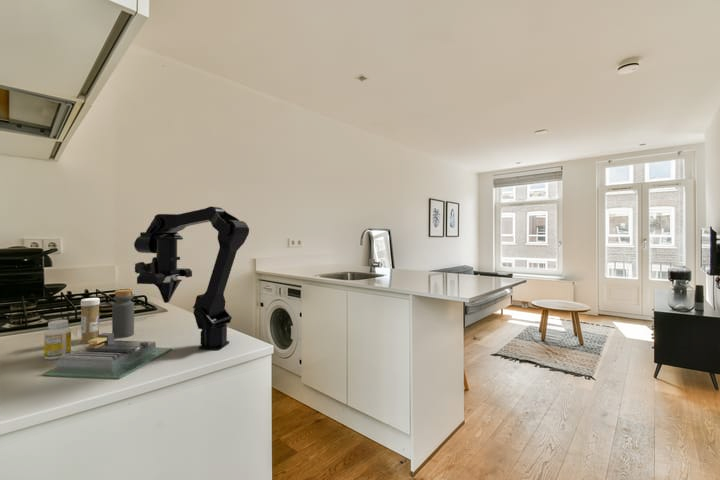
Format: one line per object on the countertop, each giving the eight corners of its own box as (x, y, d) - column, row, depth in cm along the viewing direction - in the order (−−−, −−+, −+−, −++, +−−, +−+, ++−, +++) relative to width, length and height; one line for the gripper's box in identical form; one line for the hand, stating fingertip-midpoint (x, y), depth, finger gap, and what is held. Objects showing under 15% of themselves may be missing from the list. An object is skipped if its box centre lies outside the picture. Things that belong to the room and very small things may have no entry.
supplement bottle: (51, 361, 85) (51, 324, 85) (39, 358, 87) (39, 322, 87) (75, 354, 90) (75, 320, 90) (63, 351, 92) (64, 318, 92)
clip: (113, 343, 90) (114, 333, 90) (98, 349, 85) (98, 339, 85) (103, 342, 90) (103, 332, 90) (87, 349, 85) (87, 338, 85)
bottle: (108, 336, 106) (108, 291, 106) (126, 331, 111) (127, 288, 111) (119, 339, 104) (119, 292, 103) (138, 334, 109) (138, 289, 109)
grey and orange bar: (143, 348, 87) (143, 344, 87) (134, 353, 83) (134, 348, 83) (96, 346, 87) (96, 342, 87) (85, 350, 84) (85, 346, 84)
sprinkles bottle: (98, 342, 100) (98, 299, 100) (79, 345, 98) (79, 300, 97) (100, 338, 104) (100, 296, 104) (81, 340, 101) (82, 298, 101)
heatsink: (171, 350, 94) (171, 334, 94) (119, 378, 75) (119, 359, 75) (110, 347, 96) (110, 332, 96) (43, 375, 77) (43, 356, 77)
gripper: (162, 251, 113) (162, 296, 113) (119, 255, 94) (119, 308, 94) (193, 252, 112) (192, 297, 112) (155, 255, 93) (155, 309, 94)
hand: (166, 302), depth 103 cm, fingers closed
